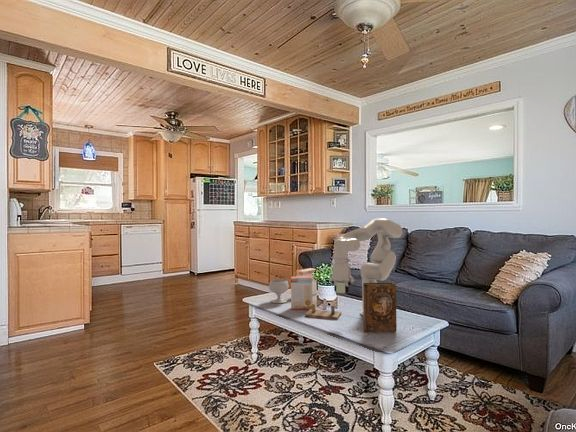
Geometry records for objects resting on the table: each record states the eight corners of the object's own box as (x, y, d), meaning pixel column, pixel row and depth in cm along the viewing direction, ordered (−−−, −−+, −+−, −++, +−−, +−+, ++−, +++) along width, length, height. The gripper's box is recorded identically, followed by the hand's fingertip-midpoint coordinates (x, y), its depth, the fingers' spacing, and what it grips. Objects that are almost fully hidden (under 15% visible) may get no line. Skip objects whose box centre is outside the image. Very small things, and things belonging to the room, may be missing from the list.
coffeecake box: (310, 292, 276) (310, 267, 275) (317, 294, 270) (316, 268, 270) (296, 295, 266) (296, 270, 266) (302, 297, 260) (302, 271, 260)
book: (365, 333, 183) (364, 285, 182) (362, 329, 188) (362, 283, 188) (396, 332, 183) (396, 284, 183) (393, 328, 189) (392, 282, 188)
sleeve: (346, 293, 201) (346, 281, 201) (345, 295, 196) (345, 283, 196) (337, 292, 203) (337, 280, 203) (336, 294, 198) (335, 282, 198)
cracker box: (313, 307, 233) (312, 276, 233) (312, 310, 227) (312, 277, 227) (291, 307, 234) (291, 275, 234) (291, 309, 228) (290, 277, 228)
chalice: (282, 305, 239) (282, 283, 239) (265, 302, 246) (265, 281, 246) (292, 300, 251) (292, 279, 251) (275, 298, 258) (275, 278, 258)
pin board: (341, 314, 217) (341, 303, 217) (337, 319, 205) (337, 308, 205) (310, 311, 223) (310, 301, 223) (304, 316, 212) (304, 306, 212)
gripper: (357, 260, 200) (357, 292, 200) (327, 259, 206) (328, 290, 206) (355, 262, 193) (355, 295, 193) (324, 261, 199) (325, 293, 199)
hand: (341, 292), depth 200 cm, fingers closed on sleeve, 5 cm apart
